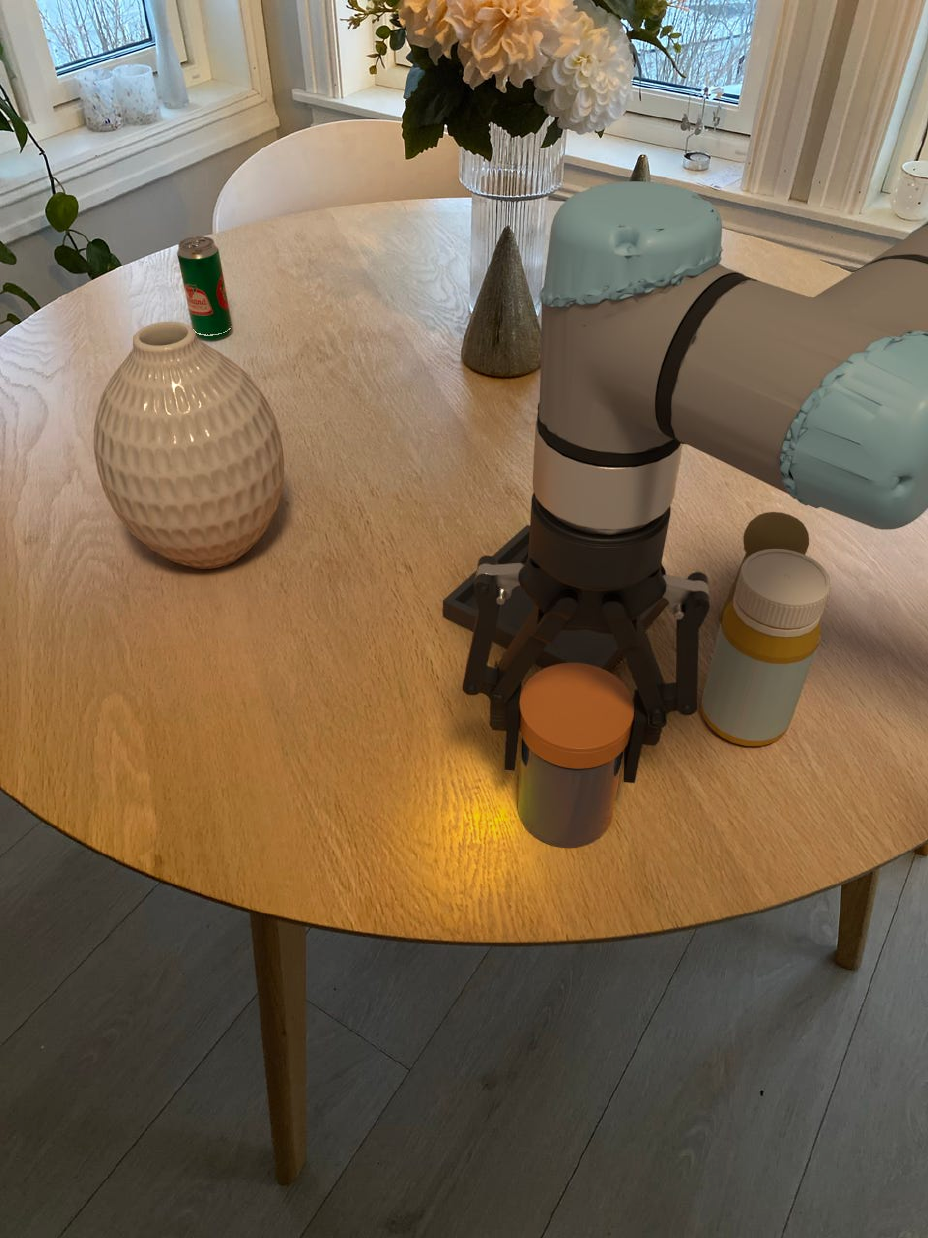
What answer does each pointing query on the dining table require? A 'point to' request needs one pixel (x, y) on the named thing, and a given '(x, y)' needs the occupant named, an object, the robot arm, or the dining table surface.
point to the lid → (575, 715)
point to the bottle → (765, 647)
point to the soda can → (204, 287)
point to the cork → (770, 540)
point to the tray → (518, 608)
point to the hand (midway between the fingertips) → (569, 761)
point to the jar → (566, 799)
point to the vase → (188, 449)
